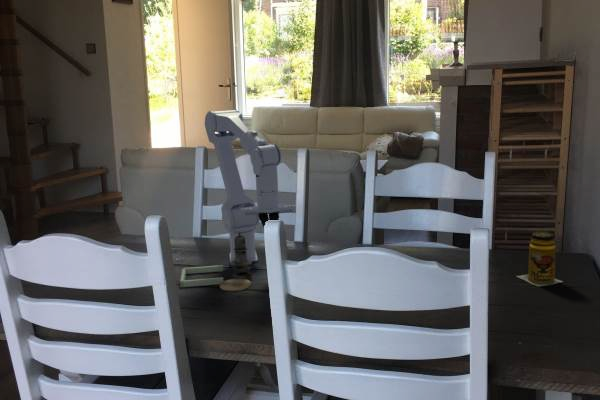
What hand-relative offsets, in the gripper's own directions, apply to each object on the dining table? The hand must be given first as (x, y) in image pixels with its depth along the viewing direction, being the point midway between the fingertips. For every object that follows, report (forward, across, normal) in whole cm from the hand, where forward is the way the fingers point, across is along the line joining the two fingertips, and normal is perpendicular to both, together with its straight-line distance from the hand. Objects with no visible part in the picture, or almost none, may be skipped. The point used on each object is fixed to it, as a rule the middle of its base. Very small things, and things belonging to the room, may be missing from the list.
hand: (269, 240), depth 163 cm
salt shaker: (+9, -8, 0) cm, 12 cm away
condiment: (+10, +65, -22) cm, 69 cm away
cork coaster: (+9, -10, -8) cm, 16 cm away
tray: (+9, -18, 0) cm, 20 cm away
